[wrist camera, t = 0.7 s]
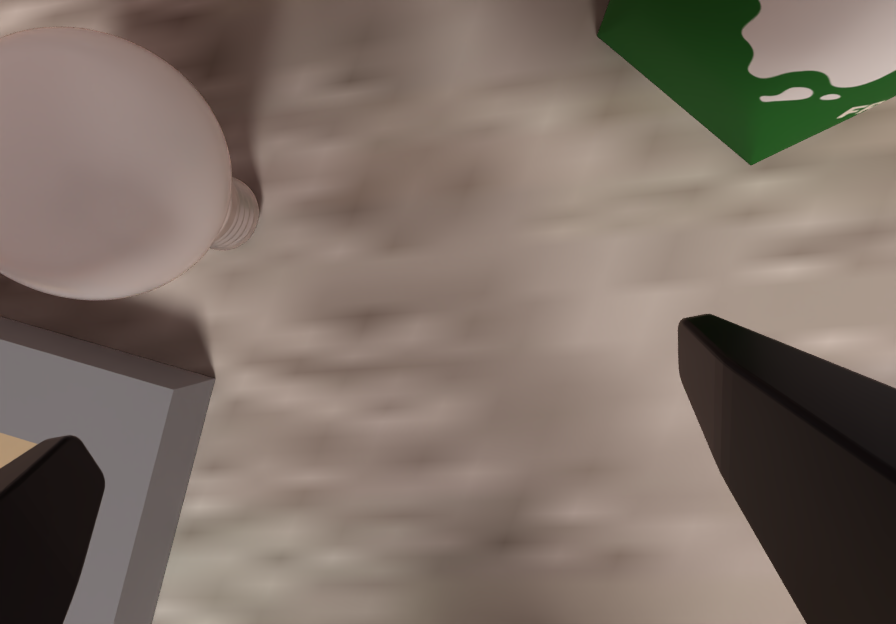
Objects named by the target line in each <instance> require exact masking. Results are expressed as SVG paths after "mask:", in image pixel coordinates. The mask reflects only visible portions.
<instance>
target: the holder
mask: <svg viewBox="0 0 896 624" xmlns="http://www.w3.org/2000/svg"><path fill="white" fill-rule="evenodd" d="M214 382H215V378H212V377H208V376H205V375H201V374H198V373H194V372H191V371H187V370H184V369H180V368H177V367H174V366H170V365H167V364H163V363H160V362H156V361H153V360H149V359H146V358H142V357H139V356H136V355H132V354H129V353H125V352H122V351H118V350H115V349H111V348H108V347H104V346H101V345H97V344H94V343H91V342H87V341H84V340H80V339H77V338H73V337H70V336H66V335H63V334H59V333H56V332H52V331H49V330H46V329H42V328H39V327H35V326H32V325H28V324H25V323H21V322H18V321H14V320H11V319H7V318H4V317H1V316H0V468H2V467H3V466H5V465H6V464H8V463H9V462H11V461H12V460H14V459H16V458H17V457H19V456H20V455H22V454H23V453H25V452H26V451H28V450H29V449H31V448H33V447H34V446H36V445H37V444H39V443H40V442H42V441H44V440H46V439H50V438H55V437H61V436H66V435H73V436H76V437H78V438H79V439H80V440H81V441H82V442H83V443H84V445H85V446H86V448H87V449H88V451H89V453H90V454H91V456H92V457H93V459H94V460H95V462H96V463H97V465H98V466H99V468H100V469H101V471H102V472H103V475H104V478H105V490H104V494H103V498H102V501H101V505H100V508H99V512H98V516H97V519H96V523H95V526H94V530H93V534H92V537H91V541H90V544H89V548H88V552H87V555H86V559H85V562H84V566H83V569H82V573H81V576H80V579H79V582H78V585H77V588H76V591H75V594H74V596H73V599H72V602H71V605H70V607H69V610H68V612H67V615H66V617H65V620H64V623H63V624H152V620H153V616H154V612H155V608H156V604H157V601H158V597H159V593H160V589H161V585H162V581H163V578H164V574H165V570H166V566H167V562H168V558H169V554H170V551H171V547H172V543H173V539H174V535H175V531H176V528H177V524H178V520H179V516H180V512H181V508H182V505H183V501H184V497H185V493H186V489H187V485H188V482H189V478H190V474H191V470H192V466H193V462H194V458H195V455H196V451H197V447H198V443H199V439H200V435H201V432H202V428H203V424H204V420H205V416H206V412H207V409H208V405H209V401H210V397H211V393H212V389H213V385H214Z"/></svg>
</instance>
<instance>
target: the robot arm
mask: <svg viewBox="0 0 896 624" xmlns="http://www.w3.org/2000/svg"><path fill="white" fill-rule="evenodd" d="M678 362H679V373H680V378H681V381H682V384H683V386H684V389H685V391H686V393H687V396H688V398H689V400H690V403H691V405H692V408H693V410H694V412H695V415H696V417H697V419H698V422H699V424H700V426H701V429H702V431H703V434H704V436H705V438H706V441H707V443H708V445H709V448H710V450H711V452H712V455H713V457H714V459H715V462H716V464H717V466H718V468H719V471H720V473H721V475H722V477H723V478H724V480H725V482H726V484H727V486H728V488H729V489H730V491H731V493H732V495H733V496H734V498H735V500H736V502H737V503H738V505H739V507H740V509H741V510H742V512H743V514H744V516H745V517H746V519H747V521H748V523H749V524H750V526H751V528H752V529H753V531H754V533H755V535H756V536H757V538H758V540H759V542H760V543H761V545H762V547H763V549H764V550H765V552H766V554H767V556H768V557H769V559H770V561H771V563H772V564H773V566H774V568H775V569H776V571H777V573H778V575H779V576H780V578H781V580H782V582H783V583H784V585H785V587H786V589H787V590H788V592H789V594H790V596H791V597H792V599H793V601H794V602H795V604H796V606H797V608H798V609H799V611H800V613H801V615H802V616H803V618H804V620H805V622H806V623H807V624H896V388H893V387H891V386H888V385H886V384H884V383H881V382H879V381H876V380H874V379H871V378H869V377H866V376H864V375H861V374H859V373H856V372H854V371H851V370H849V369H846V368H844V367H841V366H839V365H836V364H834V363H831V362H829V361H826V360H824V359H821V358H819V357H816V356H814V355H811V354H809V353H806V352H804V351H801V350H799V349H796V348H794V347H791V346H789V345H787V344H784V343H782V342H779V341H777V340H774V339H772V338H769V337H767V336H764V335H762V334H759V333H757V332H754V331H752V330H749V329H747V328H744V327H742V326H739V325H737V324H734V323H732V322H729V321H727V320H724V319H722V318H719V317H717V316H714V315H711V314H703V315H698V316H693V317H688V318H684V319H682V320H681V321H680V322H679V325H678ZM104 490H105V478H104V475H103V472H102V471H101V469H100V468H99V466H98V465H97V463H96V462H95V460H94V459H93V457H92V456H91V454H90V453H89V451H88V449H87V448H86V446H85V445H84V443H83V442H82V441H81V440H80V439H79V438H78V437H76V436H73V435H66V436H61V437H55V438H50V439H46V440H44V441H42V442H40V443H39V444H37V445H36V446H34V447H33V448H31V449H29V450H28V451H26V452H25V453H23V454H22V455H20V456H19V457H17V458H16V459H14V460H12V461H11V462H9V463H8V464H6V465H5V466H3V467H2V468H0V624H63V623H64V620H65V617H66V615H67V612H68V610H69V607H70V605H71V602H72V599H73V596H74V594H75V591H76V588H77V585H78V582H79V579H80V576H81V573H82V569H83V566H84V562H85V559H86V555H87V552H88V548H89V544H90V541H91V537H92V534H93V530H94V526H95V523H96V519H97V516H98V512H99V508H100V505H101V501H102V498H103V494H104Z"/></svg>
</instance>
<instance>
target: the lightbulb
mask: <svg viewBox="0 0 896 624" xmlns="http://www.w3.org/2000/svg"><path fill="white" fill-rule="evenodd" d="M258 218H259V208H258V203H257V200H256V197H255V195H254V194H253V192H252V191H251V189H250V188H249V187H248V186H247V185H246V184H245V183H243V182H242V181H240V180H239V179H237V178H234V177H232V167H231V160H230V154H229V150H228V146H227V143H226V139H225V137H224V134H223V131H222V129H221V127H220V125H219V122H218V120H217V118H216V117H215V115H214V113H213V111H212V110H211V108H210V106H209V105H208V103H207V102H206V101H205V99H204V98H203V97H202V95H201V94H200V93H199V92H198V90H197V89H196V88H195V87H194V86H193V85H192V84H191V83H190V81H189V80H187V79H186V78H185V77H184V76H183V75H182V74H181V73H180V72H179V71H178V70H177V69H175V68H174V67H173V66H172V65H170V64H169V63H168V62H166V61H165V60H163V59H162V58H160V57H159V56H157V55H156V54H154V53H152V52H151V51H149V50H147V49H145V48H143V47H141V46H139V45H137V44H135V43H133V42H131V41H128V40H126V39H123V38H120V37H117V36H114V35H111V34H108V33H104V32H100V31H95V30H90V29H84V28H75V27H42V28H33V29H28V30H23V31H19V32H15V33H12V34H9V35H6V36H3V37H1V38H0V273H1V274H2V275H4V276H6V277H7V278H9V279H11V280H13V281H15V282H17V283H19V284H22V285H24V286H26V287H29V288H31V289H34V290H37V291H40V292H43V293H47V294H50V295H54V296H59V297H64V298H70V299H78V300H113V299H121V298H127V297H132V296H136V295H139V294H143V293H146V292H149V291H152V290H154V289H157V288H159V287H161V286H163V285H165V284H167V283H169V282H171V281H173V280H175V279H176V278H178V277H179V276H181V275H182V274H184V273H185V272H186V271H188V270H189V269H190V268H191V267H192V266H193V265H195V264H196V263H197V262H198V261H199V260H200V259H201V258H202V257H203V256H204V254H205V253H206V252H207V251H208V249H209V248H210V249H215V250H230V249H233V248H236V247H238V246H240V245H242V244H243V243H245V242H246V241H247V240H248V239H249V238H250V237H251V235H252V234H253V232H254V230H255V228H256V226H257V223H258Z"/></svg>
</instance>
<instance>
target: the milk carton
mask: <svg viewBox="0 0 896 624" xmlns="http://www.w3.org/2000/svg"><path fill="white" fill-rule="evenodd" d="M597 36H598V37H599V38H600V39H601V40H602V41H604V42H605V43H606V44H607V45H608V46H610V47H611V48H612V49H613V50H614V51H616V52H617V53H618V54H619V55H620V56H621V57H623V58H624V59H625V60H626V61H627V62H629V63H630V64H631V65H632V66H633V67H635V68H636V69H637V70H638V71H639V72H640V73H642V74H643V75H644V76H645V77H646V78H648V79H649V80H650V81H651V82H652V83H654V84H655V85H656V86H657V87H658V88H659V89H661V90H662V91H663V92H664V93H665V94H667V95H668V96H669V97H670V98H671V99H673V100H674V101H675V102H676V103H677V104H678V105H680V106H681V107H682V108H683V109H684V110H686V111H687V112H688V113H689V114H690V115H692V116H693V117H694V118H695V119H696V120H697V121H699V122H700V123H701V124H702V125H703V126H705V127H706V128H707V129H708V130H709V131H711V132H712V133H713V134H714V135H715V136H717V137H718V138H719V139H720V140H721V141H722V142H724V143H725V144H726V145H727V146H728V147H730V148H731V149H732V150H733V151H734V152H736V153H737V154H738V155H739V156H740V157H741V158H743V159H744V160H745V161H746V162H747V163H749V164H750V165H753V164H755V163H757V162H759V161H761V160H763V159H765V158H767V157H769V156H771V155H773V154H776V153H778V152H780V151H782V150H784V149H786V148H788V147H790V146H792V145H794V144H797V143H799V142H801V141H803V140H805V139H807V138H809V137H811V136H813V135H815V134H818V133H820V132H822V131H824V130H826V129H828V128H830V127H832V126H834V125H836V124H839V123H841V122H843V121H845V120H847V119H849V118H851V117H853V116H855V115H857V114H859V113H862V112H864V111H866V110H868V109H870V108H872V107H874V106H876V105H878V104H880V103H882V102H884V101H886V100H888V99H890V98H892V97H894V96H896V0H610V1H609V4H608V7H607V10H606V12H605V15H604V18H603V21H602V23H601V26H600V29H599V31H598V34H597Z"/></svg>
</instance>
